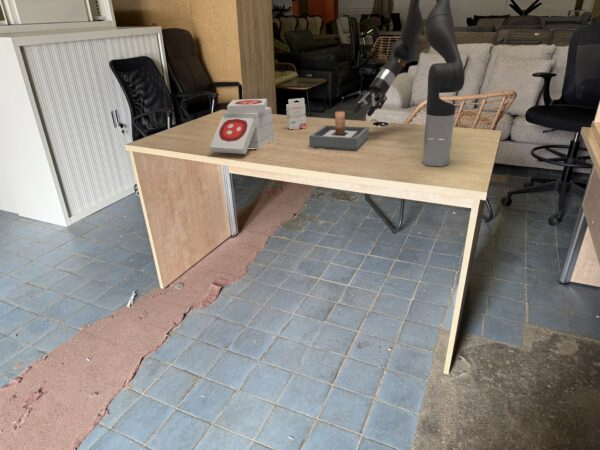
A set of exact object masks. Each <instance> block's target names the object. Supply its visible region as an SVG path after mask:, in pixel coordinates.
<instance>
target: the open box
mask: <svg viewBox="0 0 600 450" xmlns="http://www.w3.org/2000/svg"><path fill="white" fill-rule="evenodd" d="M369 132H370V127H368V126H352V125H349V126H346V125H345V136H336V135H335V125H329V124H328V125H327V124H326V125H325V124H324V125H322V127H320V128H319V129H318V130H316V131H314V132H313V133H311V134H309V137H308V138H309V142H308V143H309V148H310V147H313V148H312V149H318V148H325V149H324V150H333V149H336V150H335V151H348V152H349V151H351V152H352V151H353V152H358V150H359V149H360V148H361V147H362V146H363V145H364V144H365V143H366V142H367V141H368V140H369V135H370V133H369Z"/></svg>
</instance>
